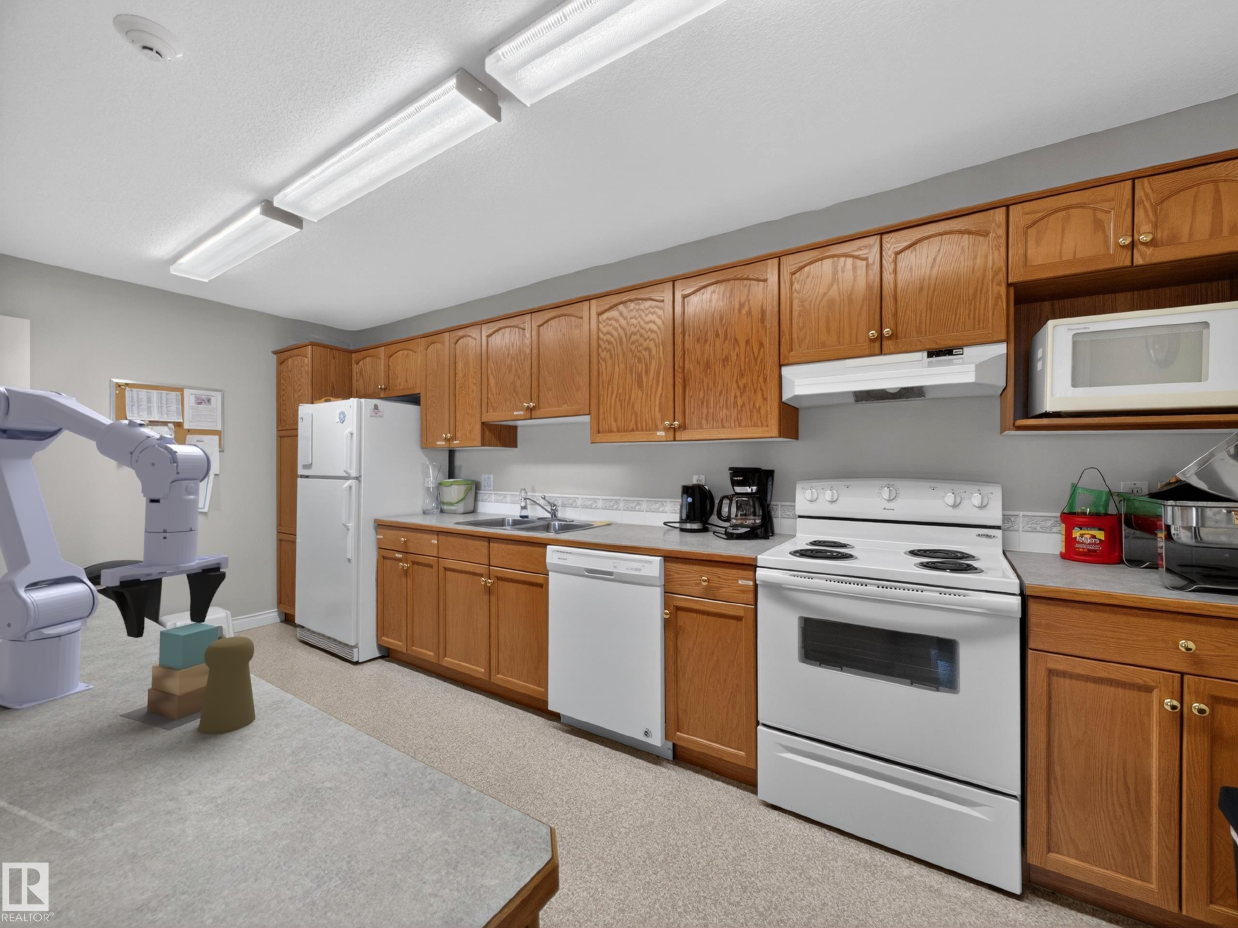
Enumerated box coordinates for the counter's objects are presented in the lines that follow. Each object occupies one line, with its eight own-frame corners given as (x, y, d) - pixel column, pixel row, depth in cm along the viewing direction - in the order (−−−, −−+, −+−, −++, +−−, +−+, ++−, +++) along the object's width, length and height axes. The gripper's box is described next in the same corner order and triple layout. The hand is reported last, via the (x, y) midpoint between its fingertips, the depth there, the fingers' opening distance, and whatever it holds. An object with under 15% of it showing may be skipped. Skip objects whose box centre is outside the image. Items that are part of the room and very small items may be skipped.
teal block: (158, 665, 72) (160, 631, 72) (195, 654, 76) (196, 622, 76) (181, 670, 70) (182, 635, 70) (217, 659, 74) (218, 626, 75)
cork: (225, 740, 65) (228, 648, 65) (184, 734, 67) (187, 644, 67) (267, 718, 71) (270, 634, 71) (229, 712, 72) (231, 630, 73)
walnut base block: (147, 711, 71) (147, 688, 71) (196, 694, 77) (197, 673, 77) (176, 719, 69) (177, 696, 69) (225, 701, 75) (225, 679, 75)
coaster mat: (119, 718, 70) (119, 715, 70) (201, 689, 80) (201, 687, 80) (169, 732, 67) (169, 729, 67) (249, 701, 76) (249, 698, 76)
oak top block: (151, 688, 72) (152, 665, 72) (196, 674, 77) (197, 652, 77) (178, 695, 70) (179, 671, 70) (222, 680, 75) (223, 658, 75)
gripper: (126, 537, 67) (122, 648, 67) (244, 527, 80) (240, 619, 80) (92, 534, 69) (88, 640, 69) (212, 524, 83) (208, 613, 83)
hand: (167, 628), depth 75 cm, fingers open, 7 cm apart
